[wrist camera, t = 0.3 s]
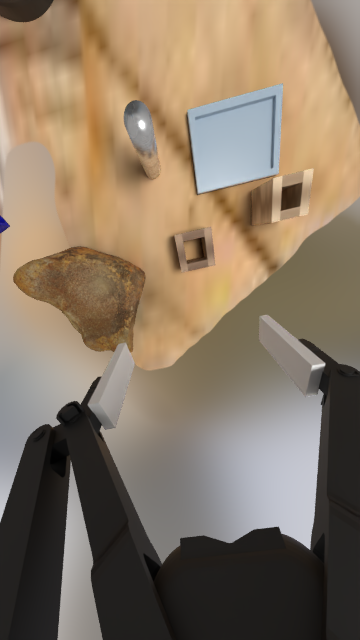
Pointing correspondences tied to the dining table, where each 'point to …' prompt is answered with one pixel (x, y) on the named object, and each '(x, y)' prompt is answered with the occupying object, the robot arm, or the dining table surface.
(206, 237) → the brown hollow block
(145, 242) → the dining table surface
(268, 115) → the tray
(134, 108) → the silver metal rod
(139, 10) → the dining table surface
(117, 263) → the rough brown rock
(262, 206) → the block
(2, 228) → the cable clip
